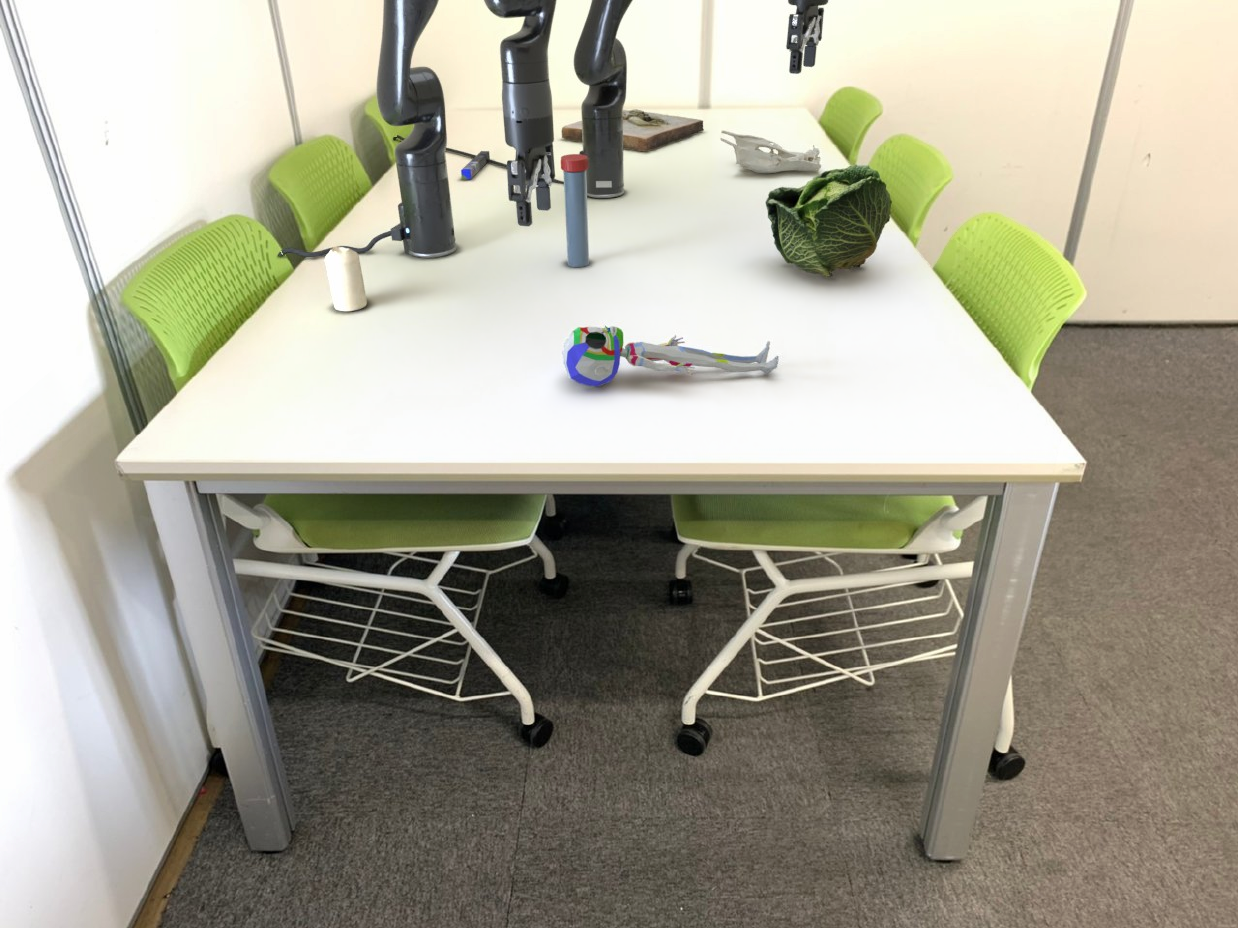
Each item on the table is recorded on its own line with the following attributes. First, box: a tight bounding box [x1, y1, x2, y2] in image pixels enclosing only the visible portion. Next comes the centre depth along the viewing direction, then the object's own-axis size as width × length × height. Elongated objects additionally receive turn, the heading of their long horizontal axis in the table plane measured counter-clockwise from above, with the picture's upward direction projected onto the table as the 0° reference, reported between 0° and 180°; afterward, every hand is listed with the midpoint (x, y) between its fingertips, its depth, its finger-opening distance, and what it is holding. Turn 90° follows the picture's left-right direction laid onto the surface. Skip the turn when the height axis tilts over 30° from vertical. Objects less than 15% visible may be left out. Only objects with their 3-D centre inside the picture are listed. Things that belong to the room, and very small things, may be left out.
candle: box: [324, 246, 368, 312], centre depth 150 cm, size 6×6×10 cm
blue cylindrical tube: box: [562, 170, 590, 268], centre depth 164 cm, size 4×4×19 cm
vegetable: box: [765, 164, 893, 278], centre depth 160 cm, size 20×19×20 cm
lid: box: [560, 153, 588, 172], centre depth 159 cm, size 5×5×2 cm
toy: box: [561, 325, 780, 387], centre depth 127 cm, size 10×8×30 cm
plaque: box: [561, 108, 705, 152], centre depth 257 cm, size 30×7×30 cm
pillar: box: [460, 150, 491, 180], centre depth 228 cm, size 2×2×20 cm
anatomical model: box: [720, 130, 822, 174], centre depth 222 cm, size 15×9×25 cm
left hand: (534, 217), depth 145 cm, fingers open, 8 cm apart
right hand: (802, 70), depth 176 cm, fingers open, 8 cm apart
